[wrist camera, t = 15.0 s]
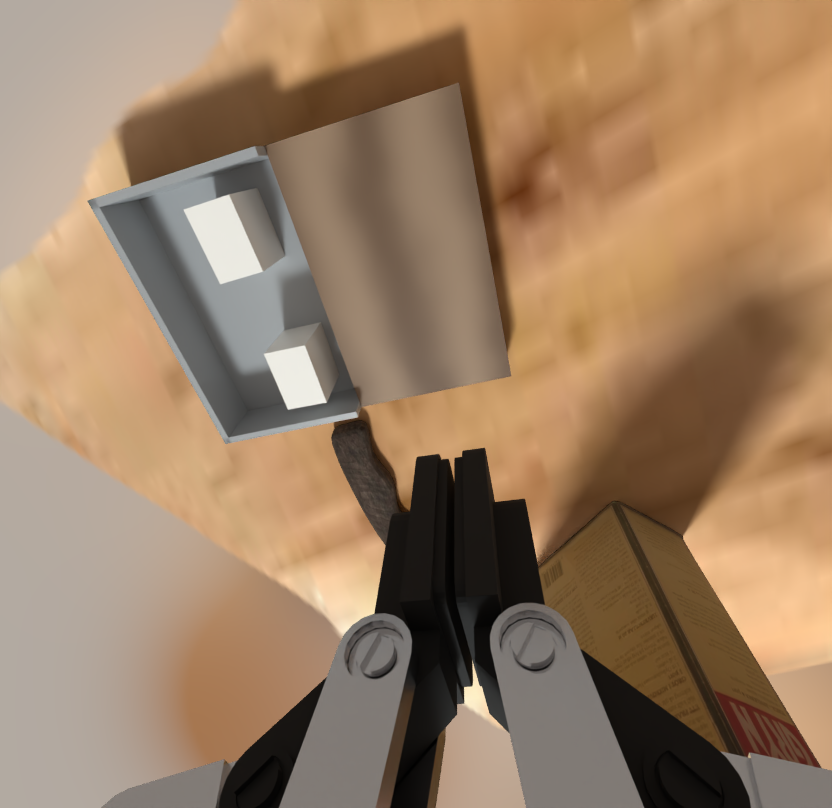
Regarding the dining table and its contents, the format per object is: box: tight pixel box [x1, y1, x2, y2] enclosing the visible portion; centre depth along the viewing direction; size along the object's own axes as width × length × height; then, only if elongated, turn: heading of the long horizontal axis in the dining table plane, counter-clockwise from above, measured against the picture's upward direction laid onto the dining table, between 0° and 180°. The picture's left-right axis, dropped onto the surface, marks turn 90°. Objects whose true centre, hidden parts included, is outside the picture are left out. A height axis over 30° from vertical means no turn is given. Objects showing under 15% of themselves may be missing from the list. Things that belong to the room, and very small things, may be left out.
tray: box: [88, 146, 361, 444], centre depth 32 cm, size 11×18×4 cm, turn 15°
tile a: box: [264, 322, 339, 410], centre depth 33 cm, size 4×4×3 cm
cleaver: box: [331, 421, 402, 545], centre depth 44 cm, size 29×10×2 cm, turn 28°
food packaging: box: [538, 502, 821, 768], centre depth 35 cm, size 13×9×25 cm
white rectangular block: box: [184, 188, 285, 284], centre depth 29 cm, size 4×4×3 cm
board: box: [264, 83, 511, 407], centre depth 31 cm, size 12×18×3 cm, turn 15°
